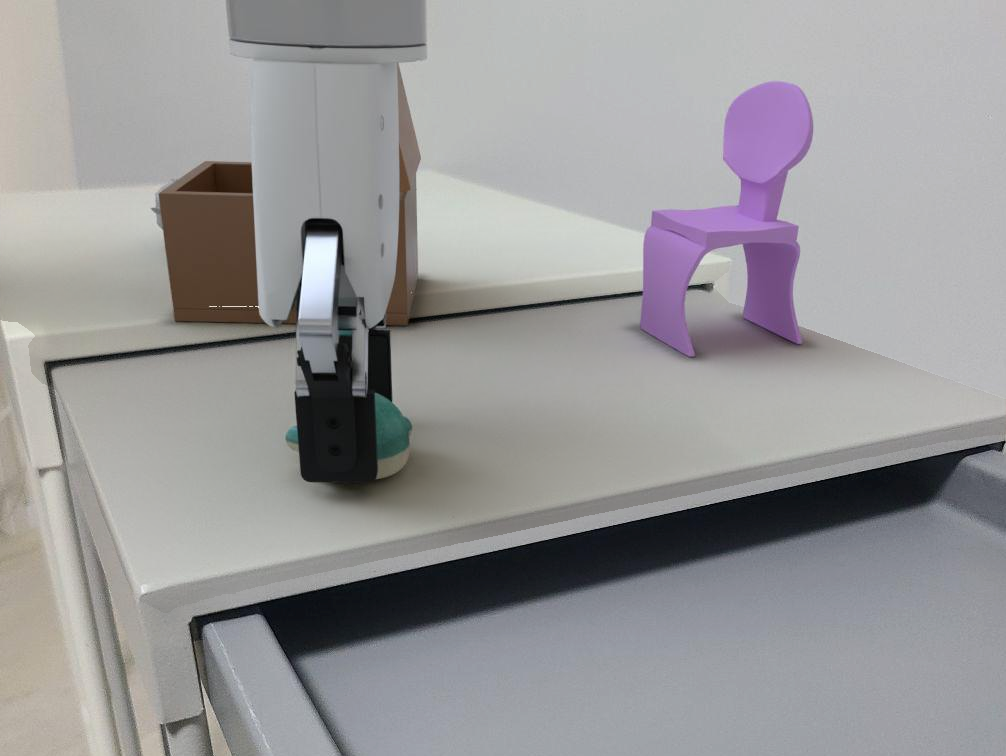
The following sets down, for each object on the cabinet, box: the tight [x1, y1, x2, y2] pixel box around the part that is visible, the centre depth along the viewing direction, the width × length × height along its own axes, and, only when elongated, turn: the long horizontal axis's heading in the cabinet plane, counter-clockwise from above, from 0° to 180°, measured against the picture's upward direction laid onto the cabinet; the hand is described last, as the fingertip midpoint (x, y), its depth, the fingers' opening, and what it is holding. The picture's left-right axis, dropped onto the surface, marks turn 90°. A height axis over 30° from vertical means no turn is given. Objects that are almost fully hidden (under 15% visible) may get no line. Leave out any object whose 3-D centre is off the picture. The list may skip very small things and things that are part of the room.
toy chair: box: [639, 80, 814, 358], centre depth 65 cm, size 8×9×15 cm
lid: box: [397, 63, 422, 193], centre depth 66 cm, size 15×12×6 cm
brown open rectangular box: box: [158, 160, 419, 327], centre depth 71 cm, size 15×12×8 cm
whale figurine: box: [285, 393, 414, 480], centre depth 49 cm, size 6×7×4 cm
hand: (350, 439), depth 49 cm, fingers closed on whale figurine, 7 cm apart
